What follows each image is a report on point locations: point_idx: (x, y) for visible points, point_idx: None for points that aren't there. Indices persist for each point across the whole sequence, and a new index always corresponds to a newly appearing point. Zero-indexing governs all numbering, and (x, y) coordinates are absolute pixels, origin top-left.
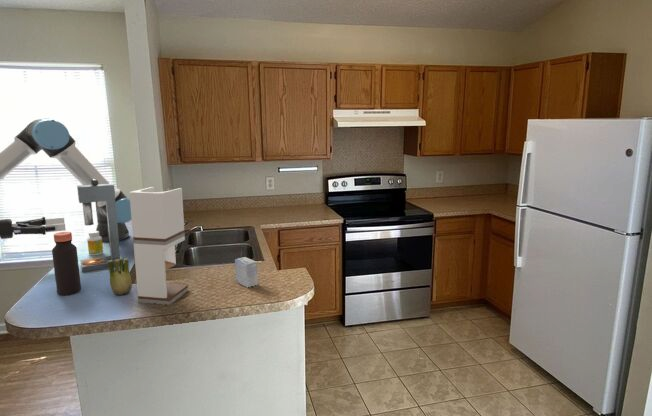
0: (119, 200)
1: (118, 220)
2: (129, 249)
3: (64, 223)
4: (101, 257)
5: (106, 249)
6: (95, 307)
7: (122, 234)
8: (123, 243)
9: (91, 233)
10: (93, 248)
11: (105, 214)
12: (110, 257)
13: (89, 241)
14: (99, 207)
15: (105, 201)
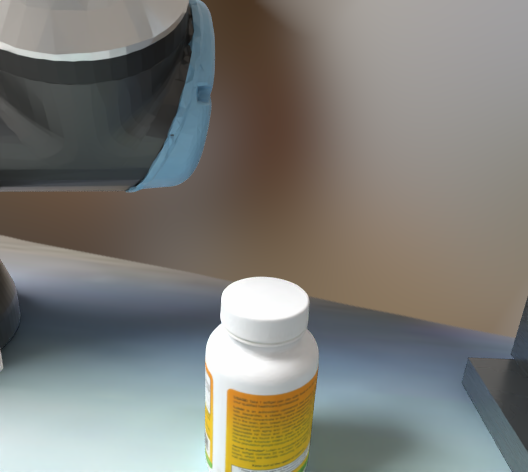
0: (199, 6)
1: (196, 166)
2: None
3: (1, 363)
4: (521, 423)
5: (178, 395)
6: None
7: (12, 280)
8: (106, 321)
9: (304, 311)
10: (311, 424)
11: (13, 149)
12: (526, 386)
13: (302, 389)
14: (57, 74)
15: (159, 3)
